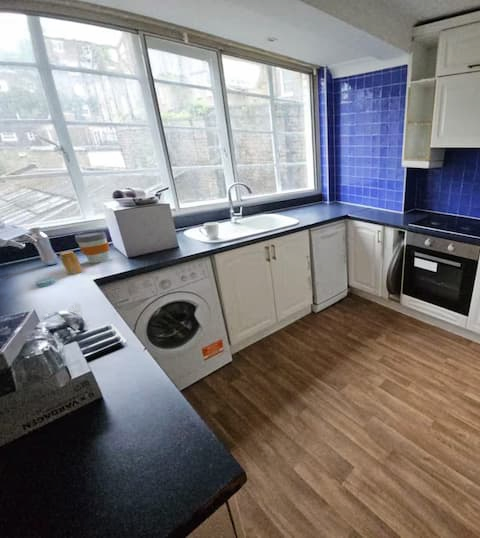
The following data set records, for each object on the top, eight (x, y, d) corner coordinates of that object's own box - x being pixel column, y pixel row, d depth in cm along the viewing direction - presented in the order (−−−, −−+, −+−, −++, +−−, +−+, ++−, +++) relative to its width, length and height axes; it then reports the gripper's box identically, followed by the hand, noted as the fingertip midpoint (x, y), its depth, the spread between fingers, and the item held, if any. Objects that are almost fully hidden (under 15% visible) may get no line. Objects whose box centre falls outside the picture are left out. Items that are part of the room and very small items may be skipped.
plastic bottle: (52, 266, 155) (35, 229, 147) (40, 266, 155) (21, 230, 147) (64, 261, 161) (47, 226, 153) (52, 262, 161) (35, 226, 153)
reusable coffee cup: (85, 266, 154) (73, 239, 148) (85, 260, 162) (74, 234, 157) (115, 260, 161) (105, 233, 155) (113, 254, 170) (104, 229, 164)
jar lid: (58, 282, 136) (56, 278, 135) (40, 288, 131) (38, 284, 130) (50, 280, 138) (49, 276, 138) (33, 285, 133) (31, 282, 132)
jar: (67, 275, 143) (57, 255, 139) (67, 272, 147) (58, 252, 143) (82, 272, 146) (74, 252, 142) (83, 268, 151) (74, 249, 146)
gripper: (0, 228, 135) (38, 244, 142) (-33, 237, 118) (12, 255, 125) (8, 217, 135) (45, 234, 142) (-24, 225, 118) (21, 244, 125)
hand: (30, 244), depth 133 cm, fingers open, 8 cm apart
